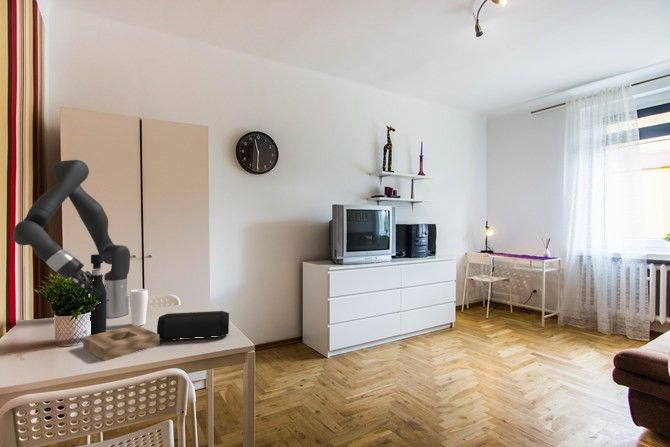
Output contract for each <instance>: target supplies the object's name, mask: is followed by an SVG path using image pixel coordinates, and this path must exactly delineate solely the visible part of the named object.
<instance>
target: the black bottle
mask: <svg viewBox="0 0 670 447" xmlns="http://www.w3.org/2000/svg"><path fill="white" fill-rule="evenodd" d="M103 263H104V262H103V255H102V254H99V253H97V254H91V255H90V264H92V270H91V274H92V275H91V279H93V278H94V281H93V282H92V283H91V284H92V285H93V287H95V288H96V289H97V290H98V291H100V292H101V295H100V296H99V297H97V298H96V299H97V300H99V301H101V303H99V304H97V305H96V306H95V309H94V310H93V311H91V315H90V316H91V317H90V321H91V335H94V334H99V333H103V332H107V317H106V302H107V294H106V289H105V286H104V282H103V281H104V279H103V278H104V274H103V270H102V266H101V265H102V264H103ZM96 283H97V284H96ZM101 288H104V289H103V290H102V289H101ZM100 289H101V290H100ZM104 293H105V294H104ZM94 297H95V296H94Z"/></svg>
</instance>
